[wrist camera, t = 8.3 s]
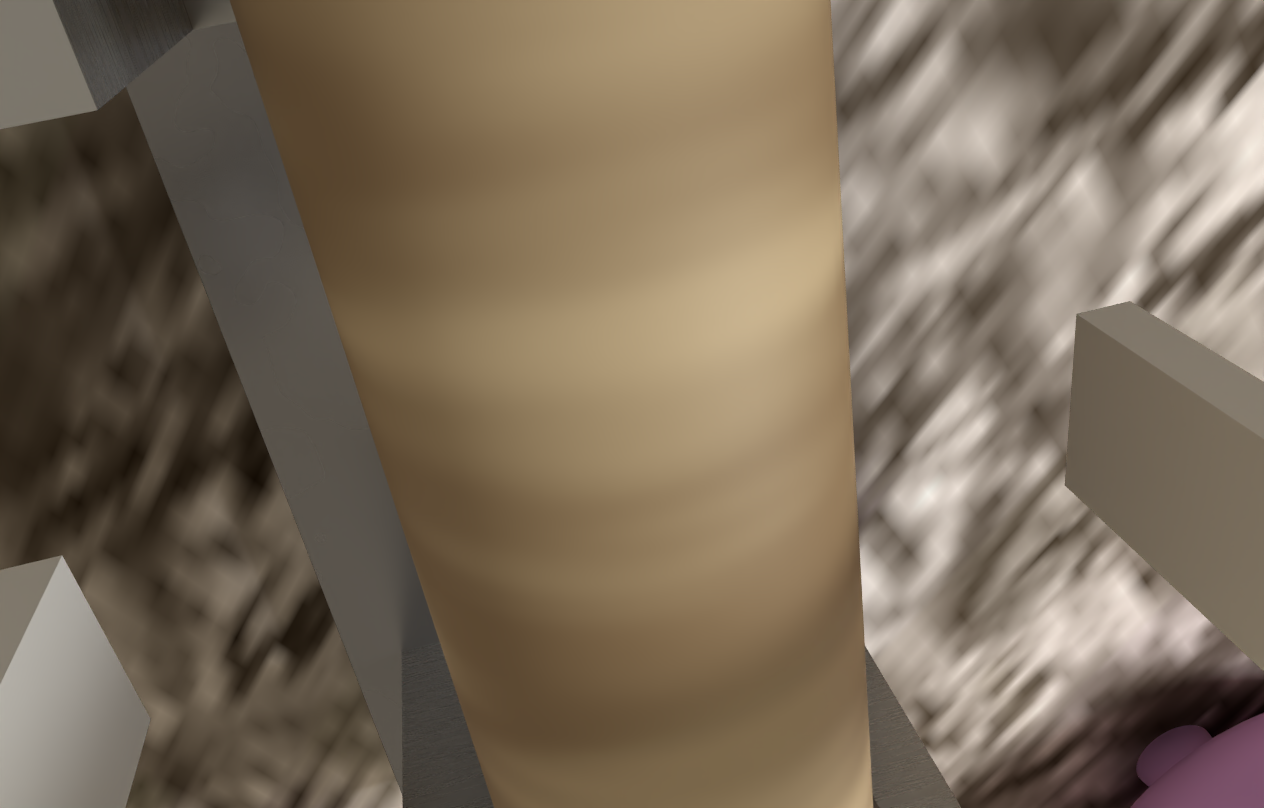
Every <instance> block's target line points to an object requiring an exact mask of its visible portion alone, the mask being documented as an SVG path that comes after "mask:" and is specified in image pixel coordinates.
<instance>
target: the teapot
mask: <svg viewBox="0 0 1264 808" xmlns="http://www.w3.org/2000/svg"><path fill="white" fill-rule="evenodd" d="M1136 771H1137V775H1138V777H1139V778H1140V779H1141V780H1142V781H1143V782H1144V783H1145V784H1146V785H1147V786H1149V788H1148V789H1147V790H1146V791H1145V792H1144V793H1143V794H1142V795H1141V796H1140V797H1139V798H1138V799H1137V800H1136V801H1135V802H1134V804H1133V805H1132V806H1131V807H1130V808H1264V713H1262V714H1259V715H1257V716H1255V717H1252V718H1250V719H1248V720H1246V721H1243V722H1241V723H1239V724H1238V725H1236V726H1234V727H1232V728H1230V729H1228V730H1226V731H1224V732H1223V733H1221V734H1219V735H1217V736H1216V737H1214V738H1212V737H1211V735H1210V734H1209V733H1208V732H1207V731H1206V729H1204V728H1202V727H1200V726H1196V725H1186V726H1180V727H1177V728H1174V729H1171V730H1169V731H1167V732H1165V733H1163V734H1161V735H1160V736H1158V737H1157V738H1156V739H1154V740H1153V741H1152V742H1151V743H1150V744H1149V745H1148V746H1147V747H1146V748H1145V749H1144V750H1143V752H1142V754H1141V755H1140V757H1139V759H1138V762H1137V767H1136Z"/></svg>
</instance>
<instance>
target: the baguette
mask: <svg viewBox="0 0 1264 808" xmlns="http://www.w3.org/2000/svg"><path fill="white" fill-rule="evenodd" d="M230 3H231V6H232V9H233V12H234V15H235V19H236V22H237V25H238V28H239V31H240V34H241V37H242V40H243V43H244V46H245V49H246V52H247V55H248V58H249V61H250V64H251V67H252V70H253V73H254V76H255V80H256V83H257V86H258V89H259V92H260V95H261V98H262V101H263V104H264V107H265V110H266V113H267V116H268V119H269V122H270V125H271V128H272V131H273V134H274V138H275V141H276V144H277V147H278V150H279V153H280V156H281V159H282V162H283V165H284V168H285V171H286V174H287V177H288V180H289V183H290V186H291V189H292V192H293V196H294V199H295V202H296V205H297V208H298V211H299V214H300V217H301V220H302V223H303V226H304V229H305V232H306V235H307V238H308V241H309V244H310V247H311V250H312V253H313V257H314V260H315V263H316V266H317V269H318V272H319V275H320V278H321V281H322V284H323V287H324V290H325V293H326V296H327V299H328V302H329V305H330V308H331V311H332V315H333V318H334V321H335V324H336V327H337V330H338V333H339V336H340V339H341V342H342V345H343V348H344V351H345V354H346V357H347V360H348V363H349V366H350V369H351V372H352V376H353V379H354V382H355V385H356V388H357V391H358V394H359V397H360V400H361V403H362V406H363V409H364V412H365V415H366V418H367V421H368V424H369V427H370V430H371V434H372V437H373V440H374V443H375V446H376V449H377V452H378V455H379V458H380V461H381V464H382V467H383V470H384V473H385V476H386V479H387V482H388V485H389V488H390V491H391V495H392V498H393V501H394V504H395V507H396V510H397V513H398V516H399V519H400V522H401V525H402V528H403V531H404V534H405V537H406V540H407V543H408V546H409V549H410V553H411V556H412V559H413V562H414V565H415V568H416V571H417V574H418V577H419V580H420V583H421V586H422V589H423V592H424V595H425V598H426V601H427V604H428V607H429V610H430V614H431V617H432V620H433V623H434V626H435V629H436V632H437V635H438V638H439V641H440V644H441V647H442V650H443V653H444V656H445V659H446V662H447V665H448V668H449V672H450V675H451V678H452V681H453V684H454V687H455V690H456V693H457V696H458V699H459V702H460V705H461V708H462V711H463V714H464V717H465V720H466V723H467V726H468V730H469V733H470V736H471V739H472V742H473V745H474V748H475V751H476V754H477V757H478V760H479V763H480V766H481V769H482V772H483V775H484V778H485V781H486V784H487V787H488V791H489V794H490V797H491V800H492V803H493V806H494V808H873V793H872V775H871V756H870V737H869V718H868V699H867V680H866V662H865V643H864V624H863V605H862V586H861V568H860V549H859V530H858V511H857V492H856V474H855V455H854V436H853V417H852V398H851V380H850V361H849V342H848V323H847V304H846V286H845V267H844V248H843V229H842V210H841V191H840V173H839V154H838V135H837V116H836V97H835V79H834V60H833V41H832V22H831V3H830V0H230Z"/></svg>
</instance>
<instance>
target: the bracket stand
mask: <svg viewBox="0 0 1264 808" xmlns="http://www.w3.org/2000/svg"><path fill="white" fill-rule="evenodd" d="M125 87H126V88H127V91H128V93H129V96H130V99H131V101H132V104H133V106H134V109H135V111H136V114H137V117H138V119H139V122H140V124H141V127H142V129H143V132H144V134H145V137H146V140H147V142H148V145H149V147H150V150H151V152H152V155H153V157H154V160H155V163H156V165H157V168H158V170H159V173H160V175H161V178H162V181H163V183H164V186H165V188H166V191H167V193H168V196H169V198H170V201H171V204H172V206H173V209H174V211H175V214H176V216H177V219H178V222H179V224H180V227H181V229H182V232H183V234H184V237H185V239H186V242H187V245H188V247H189V250H190V252H191V255H192V257H193V260H194V262H195V265H196V268H197V270H198V273H199V275H200V278H201V280H202V283H203V286H204V288H205V291H206V293H207V296H208V298H209V301H210V303H211V306H212V309H213V311H214V314H215V316H216V319H217V321H218V324H219V327H220V329H221V332H222V334H223V337H224V339H225V342H226V344H227V347H228V350H229V352H230V355H231V357H232V360H233V362H234V365H235V367H236V370H237V373H238V375H239V378H240V380H241V383H242V385H243V388H244V391H245V393H246V396H247V398H248V401H249V403H250V406H251V408H252V411H253V414H254V416H255V419H256V421H257V424H258V426H259V429H260V431H261V434H262V437H263V439H264V442H265V444H266V447H267V449H268V452H269V455H270V457H271V460H272V462H273V465H274V467H275V470H276V472H277V475H278V478H279V480H280V483H281V485H282V488H283V490H284V493H285V496H286V498H287V501H288V503H289V506H290V508H291V511H292V513H293V516H294V519H295V521H296V524H297V526H298V529H299V531H300V534H301V536H302V539H303V542H304V544H305V547H306V549H307V552H308V554H309V557H310V560H311V562H312V565H313V567H314V570H315V572H316V575H317V577H318V580H319V583H320V585H321V588H322V590H323V593H324V595H325V598H326V601H327V603H328V606H329V608H330V611H331V613H332V616H333V618H334V621H335V624H336V626H337V629H338V631H339V634H340V636H341V639H342V641H343V644H344V647H345V649H346V652H347V654H348V657H349V659H350V662H351V665H352V667H353V670H354V672H355V675H356V677H357V680H358V682H359V685H360V688H361V690H362V693H363V695H364V698H365V700H366V703H367V706H368V708H369V711H370V713H371V716H372V718H373V721H374V723H375V726H376V729H377V731H378V734H379V736H380V739H381V741H382V744H383V746H384V749H385V752H386V754H387V757H388V759H389V762H390V764H391V767H392V770H393V772H394V775H395V777H396V780H397V782H398V785H399V787H400V790H401V793H402V795H403V808H494V806H493V803H492V800H491V797H490V794H489V791H488V787H487V784H486V781H485V778H484V775H483V772H482V769H481V766H480V763H479V760H478V757H477V754H476V751H475V748H474V745H473V742H472V739H471V736H470V733H469V730H468V726H467V723H466V720H465V717H464V714H463V711H462V708H461V705H460V702H459V699H458V696H457V693H456V690H455V687H454V684H453V681H452V678H451V675H450V672H449V668H448V665H447V662H446V659H445V656H444V653H443V650H442V647H441V644H440V641H439V638H438V635H437V632H436V629H435V626H434V623H433V620H432V617H431V614H430V610H429V607H428V604H427V601H426V598H425V595H424V592H423V589H422V586H421V583H420V580H419V577H418V574H417V571H416V568H415V565H414V562H413V559H412V556H411V553H410V549H409V546H408V543H407V540H406V537H405V534H404V531H403V528H402V525H401V522H400V519H399V516H398V513H397V510H396V507H395V504H394V501H393V498H392V495H391V491H390V488H389V485H388V482H387V479H386V476H385V473H384V470H383V467H382V464H381V461H380V458H379V455H378V452H377V449H376V446H375V443H374V440H373V437H372V434H371V430H370V427H369V424H368V421H367V418H366V415H365V412H364V409H363V406H362V403H361V400H360V397H359V394H358V391H357V388H356V385H355V382H354V379H353V376H352V372H351V369H350V366H349V363H348V360H347V357H346V354H345V351H344V348H343V345H342V342H341V339H340V336H339V333H338V330H337V327H336V324H335V321H334V318H333V315H332V311H331V308H330V305H329V302H328V299H327V296H326V293H325V290H324V287H323V284H322V281H321V278H320V275H319V272H318V269H317V266H316V263H315V260H314V257H313V253H312V250H311V247H310V244H309V241H308V238H307V235H306V232H305V229H304V226H303V223H302V220H301V217H300V214H299V211H298V208H297V205H296V202H295V199H294V196H293V192H292V189H291V186H290V183H289V180H288V177H287V174H286V171H285V168H284V165H283V162H282V159H281V156H280V153H279V150H278V147H277V144H276V141H275V138H274V134H273V131H272V128H271V125H270V122H269V119H268V116H267V113H266V110H265V107H264V104H263V101H262V98H261V95H260V92H259V89H258V86H257V83H256V80H255V76H254V73H253V70H252V67H251V64H250V61H249V58H248V55H247V52H246V49H245V46H244V43H243V40H242V37H241V34H240V31H239V28H238V25H237V22H236V19H235V15H234V12H233V9H232V6H231V3H230V0H0V129H5V128H10V127H15V126H20V125H25V124H30V123H35V122H40V121H45V120H51V119H56V118H61V117H66V116H71V115H76V114H81V113H86V112H92V111H97V110H99V109H100V108H101V107H102V106H103V105H104V104H106V103H107V102H108V101H109V100H110V99H112V98H113V97H114V96H115V95H116V94H118V93H119V92H120V91H121V90H122V89H123V88H125ZM865 662H866V680H867V699H868V718H869V737H870V756H871V775H872V793H873V808H961V806H960V805H959V803H958V801H957V800H956V798H955V796H954V795H953V793H952V791H951V790H950V788H949V786H948V784H947V783H946V781H945V779H944V778H943V776H942V774H941V773H940V771H939V769H938V768H937V766H936V764H935V763H934V761H933V759H932V758H931V756H930V754H929V753H928V751H927V749H926V748H925V746H924V744H923V743H922V741H921V739H920V737H919V736H918V734H917V732H916V731H915V729H914V727H913V726H912V724H911V722H910V721H909V719H908V717H907V716H906V714H905V712H904V711H903V709H902V707H901V706H900V704H899V702H898V701H897V699H896V697H895V696H894V694H893V692H892V690H891V689H890V687H889V685H888V684H887V682H886V680H885V679H884V677H883V675H882V674H881V672H880V670H879V669H878V667H877V665H876V664H875V662H874V660H873V659H872V657H871V655H870V654H869V652H868V650H867V648H866V647H865Z"/></svg>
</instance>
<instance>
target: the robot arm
mask: <svg viewBox="0 0 1264 808" xmlns="http://www.w3.org/2000/svg"><path fill="white" fill-rule="evenodd" d="M1065 486H1066V487H1067V488H1068V489H1069V490H1071V491H1072V492H1073V493H1074V494H1075V495H1076V496H1077V497H1078V498H1079V499H1080V500H1081V501H1082V502H1083V503H1084V504H1085V505H1087V506H1088V507H1089V508H1090V509H1091V510H1092V511H1093V512H1094V513H1095V514H1096V515H1097V516H1098V517H1099V518H1100V519H1102V520H1103V521H1104V522H1105V523H1106V524H1107V525H1108V526H1109V527H1110V528H1111V529H1112V530H1113V531H1114V532H1115V533H1116V534H1118V535H1119V536H1120V537H1121V538H1122V539H1123V540H1124V541H1125V542H1126V543H1127V544H1128V545H1129V546H1130V547H1131V548H1132V549H1134V550H1135V551H1136V552H1137V553H1138V554H1139V555H1140V556H1141V557H1142V558H1143V559H1144V560H1145V561H1146V562H1147V563H1148V564H1150V565H1151V566H1152V567H1153V568H1154V569H1155V570H1156V571H1157V572H1158V573H1159V574H1160V575H1161V576H1162V577H1163V578H1165V579H1166V580H1167V581H1168V582H1169V583H1170V584H1171V585H1172V586H1173V587H1174V588H1175V589H1176V590H1177V591H1178V592H1179V593H1181V594H1182V595H1183V596H1184V597H1185V598H1186V599H1187V600H1188V601H1189V602H1190V603H1191V604H1192V605H1193V606H1194V607H1195V608H1197V609H1198V610H1199V611H1200V612H1201V613H1202V614H1203V615H1204V616H1205V617H1206V618H1207V619H1208V620H1209V621H1210V622H1211V623H1213V624H1214V625H1215V626H1216V627H1217V628H1218V629H1219V630H1220V631H1221V632H1222V633H1223V634H1224V635H1225V636H1226V637H1227V638H1229V639H1230V640H1231V641H1232V642H1233V643H1234V644H1235V645H1236V646H1237V647H1238V648H1239V649H1240V650H1241V651H1242V652H1244V653H1245V654H1246V655H1247V656H1248V657H1249V658H1250V659H1251V660H1252V661H1253V662H1254V663H1255V664H1256V665H1257V666H1258V667H1260V668H1261V669H1262V670H1263V671H1264V382H1263V381H1261V380H1260V379H1258V378H1256V377H1255V376H1253V375H1251V374H1250V373H1248V372H1246V371H1245V370H1243V369H1241V368H1240V367H1238V366H1236V365H1235V364H1233V363H1232V362H1230V361H1228V360H1227V359H1225V358H1223V357H1222V356H1220V355H1218V354H1217V353H1215V352H1213V351H1212V350H1210V349H1208V348H1207V347H1205V346H1203V345H1202V344H1200V343H1198V342H1197V341H1195V340H1193V339H1192V338H1190V337H1188V336H1187V335H1185V334H1183V333H1182V332H1180V331H1178V330H1177V329H1175V328H1173V327H1172V326H1170V325H1168V324H1167V323H1165V322H1164V321H1162V320H1160V319H1159V318H1157V317H1155V316H1154V315H1152V314H1150V313H1149V312H1147V311H1145V310H1144V309H1142V308H1140V307H1139V306H1137V305H1135V304H1134V303H1132V302H1130V301H1129V302H1125V303H1121V304H1116V305H1112V306H1108V307H1104V308H1100V309H1095V310H1091V311H1087V312H1083V313H1079V314H1077V316H1076V330H1075V344H1074V359H1073V373H1072V388H1071V402H1070V417H1069V431H1068V445H1067V460H1066V474H1065ZM150 720H151V719H150V717H149V715H148V713H147V711H146V709H145V707H144V706H143V704H142V702H141V700H140V698H139V696H138V695H137V693H136V691H135V689H134V687H133V685H132V683H131V682H130V680H129V678H128V676H127V674H126V672H125V671H124V669H123V667H122V665H121V663H120V661H119V659H118V658H117V656H116V654H115V652H114V650H113V648H112V647H111V645H110V643H109V641H108V639H107V637H106V635H105V634H104V632H103V630H102V628H101V626H100V624H99V623H98V621H97V619H96V617H95V615H94V613H93V611H92V610H91V608H90V606H89V604H88V602H87V600H86V598H85V597H84V595H83V593H82V591H81V589H80V587H79V586H78V584H77V582H76V580H75V578H74V576H73V574H72V573H71V571H70V569H69V567H68V565H67V563H66V562H65V560H64V558H63V556H62V555H61V556H57V557H53V558H49V559H45V560H40V561H36V562H32V563H28V564H24V565H19V566H15V567H11V568H7V569H2V570H0V808H125V807H126V804H127V800H128V797H129V793H130V790H131V786H132V783H133V779H134V776H135V772H136V769H137V765H138V762H139V758H140V755H141V751H142V748H143V744H144V741H145V737H146V734H147V730H148V727H149V723H150Z"/></svg>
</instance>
